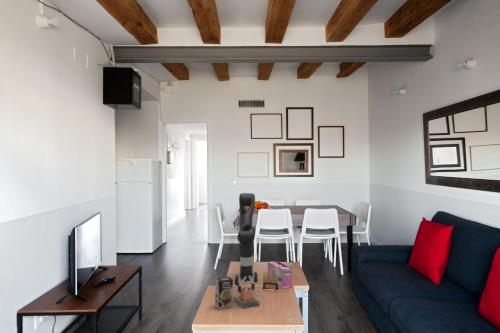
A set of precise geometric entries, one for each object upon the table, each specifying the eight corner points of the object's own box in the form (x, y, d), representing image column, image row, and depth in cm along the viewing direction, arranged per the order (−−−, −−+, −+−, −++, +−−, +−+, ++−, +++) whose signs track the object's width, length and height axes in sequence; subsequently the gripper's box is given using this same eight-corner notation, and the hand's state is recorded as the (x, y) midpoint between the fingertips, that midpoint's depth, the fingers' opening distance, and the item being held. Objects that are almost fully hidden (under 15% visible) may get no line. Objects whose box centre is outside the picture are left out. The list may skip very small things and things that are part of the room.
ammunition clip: (278, 290, 204) (278, 272, 205) (278, 291, 202) (278, 273, 203) (263, 288, 207) (263, 271, 208) (262, 289, 205) (262, 272, 206)
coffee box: (218, 309, 173) (218, 281, 174) (214, 305, 178) (214, 278, 179) (233, 306, 177) (233, 278, 178) (228, 302, 183) (228, 275, 184)
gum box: (266, 279, 228) (266, 261, 229) (275, 277, 231) (275, 260, 232) (282, 289, 206) (282, 269, 207) (292, 287, 209) (291, 267, 210)
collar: (239, 298, 184) (239, 288, 185) (248, 297, 187) (248, 287, 187) (243, 302, 179) (243, 291, 179) (252, 300, 181) (252, 290, 182)
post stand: (233, 300, 187) (233, 285, 187) (249, 297, 191) (249, 283, 192) (242, 308, 174) (242, 292, 175) (259, 305, 179) (259, 290, 179)
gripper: (254, 261, 190) (254, 287, 189) (233, 263, 184) (233, 290, 184) (259, 264, 184) (259, 291, 183) (237, 266, 178) (237, 294, 177)
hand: (246, 290), depth 183 cm, fingers open, 8 cm apart
